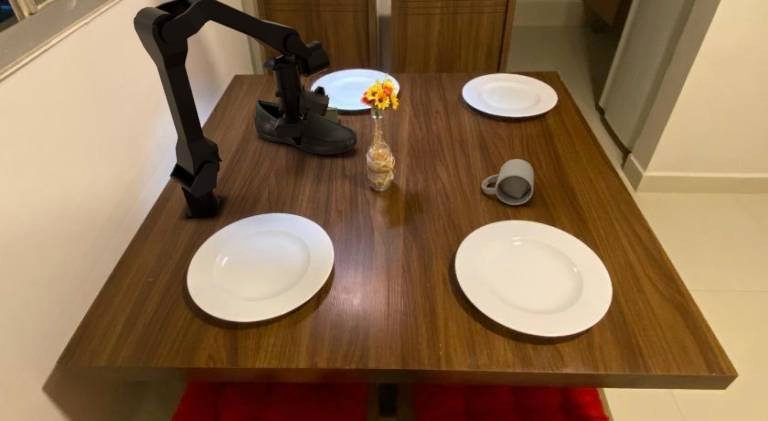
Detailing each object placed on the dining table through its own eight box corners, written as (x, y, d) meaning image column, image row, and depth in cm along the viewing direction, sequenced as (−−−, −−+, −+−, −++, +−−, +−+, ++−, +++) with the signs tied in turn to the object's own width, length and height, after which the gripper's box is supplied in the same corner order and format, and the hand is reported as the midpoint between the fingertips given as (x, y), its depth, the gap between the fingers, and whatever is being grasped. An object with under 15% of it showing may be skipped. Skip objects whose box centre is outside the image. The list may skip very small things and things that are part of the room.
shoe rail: (337, 124, 122) (336, 109, 119) (272, 127, 121) (269, 112, 118) (338, 120, 124) (336, 105, 121) (273, 122, 123) (270, 107, 120)
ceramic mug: (531, 185, 99) (537, 156, 95) (529, 208, 94) (536, 178, 89) (483, 178, 102) (487, 150, 97) (478, 200, 96) (482, 171, 91)
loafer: (349, 163, 107) (346, 126, 101) (246, 144, 115) (237, 108, 108) (364, 142, 115) (362, 106, 108) (267, 125, 122) (259, 90, 116)
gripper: (322, 100, 91) (329, 164, 101) (327, 66, 106) (333, 125, 116) (267, 102, 91) (280, 166, 101) (281, 68, 106) (291, 127, 115)
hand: (299, 144), depth 108 cm, fingers closed
